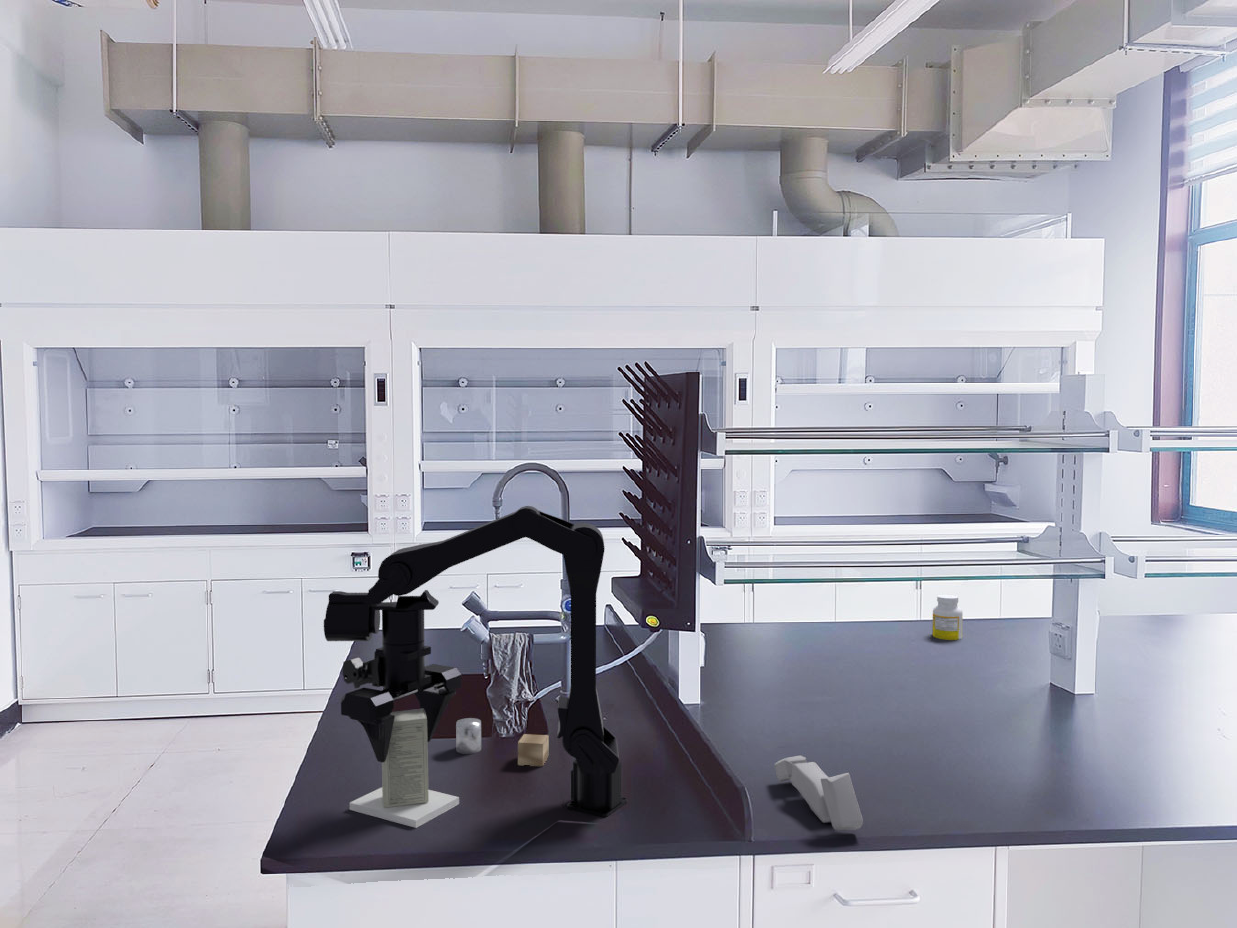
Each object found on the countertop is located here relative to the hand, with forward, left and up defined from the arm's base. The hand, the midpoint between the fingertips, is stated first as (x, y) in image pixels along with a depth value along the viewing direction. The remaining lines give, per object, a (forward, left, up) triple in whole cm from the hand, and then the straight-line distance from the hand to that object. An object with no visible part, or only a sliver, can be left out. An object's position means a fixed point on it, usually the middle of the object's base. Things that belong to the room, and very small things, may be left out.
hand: (404, 751), depth 133 cm
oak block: (-6, -23, -8) cm, 25 cm away
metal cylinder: (+6, -22, -8) cm, 24 cm away
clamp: (-50, -28, -8) cm, 58 cm away
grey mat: (0, 0, -8) cm, 8 cm away
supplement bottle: (-49, -132, -8) cm, 141 cm away
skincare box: (0, 0, -7) cm, 7 cm away
